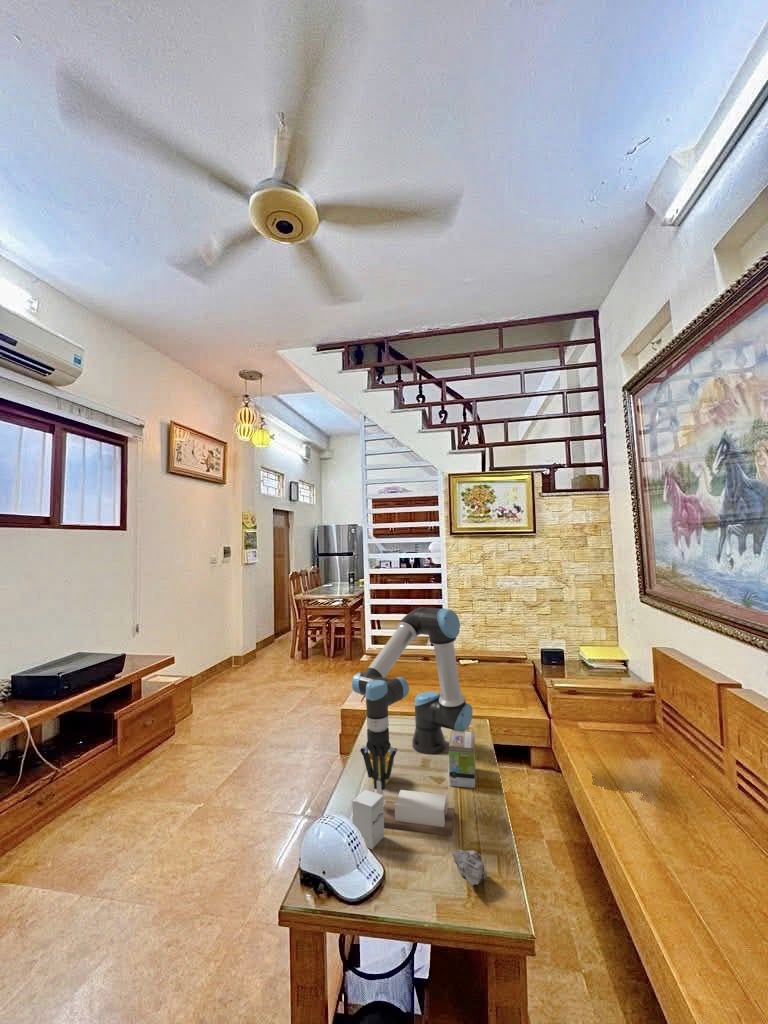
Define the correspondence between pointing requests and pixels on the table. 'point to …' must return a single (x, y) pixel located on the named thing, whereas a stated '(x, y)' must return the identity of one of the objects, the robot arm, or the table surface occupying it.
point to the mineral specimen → (470, 866)
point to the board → (391, 823)
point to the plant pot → (379, 764)
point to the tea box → (462, 759)
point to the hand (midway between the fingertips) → (380, 798)
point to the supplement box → (369, 816)
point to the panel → (421, 808)
